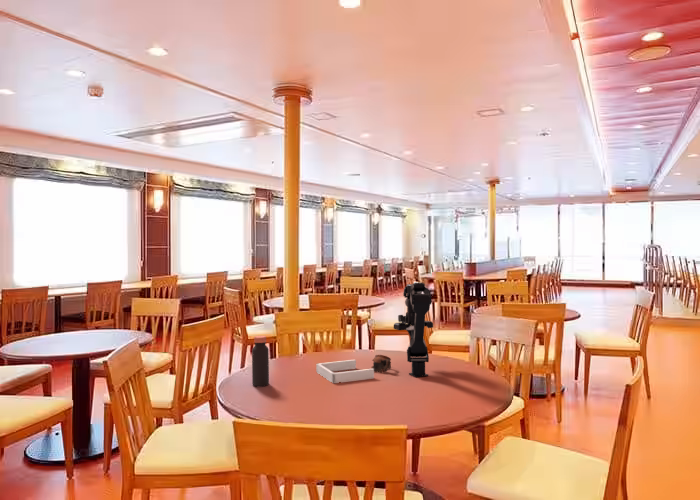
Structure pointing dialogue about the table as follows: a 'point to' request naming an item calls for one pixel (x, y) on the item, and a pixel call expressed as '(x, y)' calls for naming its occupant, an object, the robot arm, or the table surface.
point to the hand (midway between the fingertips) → (413, 343)
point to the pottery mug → (381, 363)
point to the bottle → (260, 362)
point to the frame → (328, 367)
